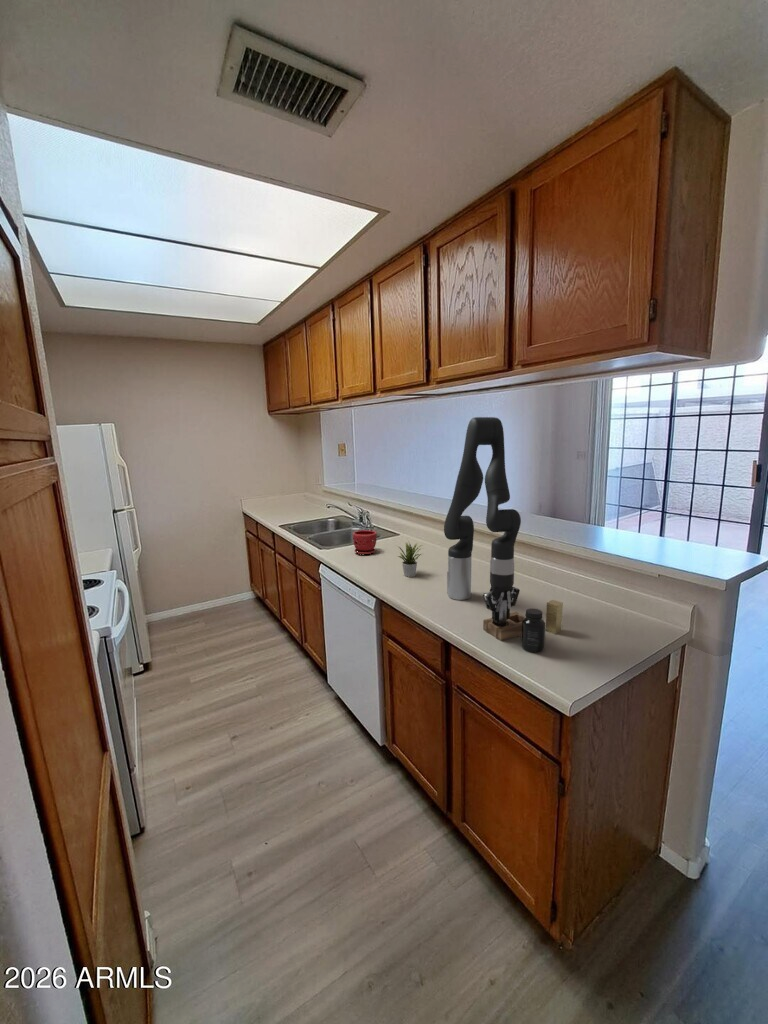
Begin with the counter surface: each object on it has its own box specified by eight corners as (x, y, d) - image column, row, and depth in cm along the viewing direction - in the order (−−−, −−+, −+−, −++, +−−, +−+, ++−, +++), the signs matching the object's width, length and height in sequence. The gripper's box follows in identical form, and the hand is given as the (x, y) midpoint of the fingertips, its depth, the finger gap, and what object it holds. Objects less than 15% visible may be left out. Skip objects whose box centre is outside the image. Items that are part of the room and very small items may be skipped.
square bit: (545, 630, 143) (546, 602, 141) (551, 627, 145) (552, 599, 143) (555, 634, 140) (557, 605, 138) (561, 630, 143) (562, 602, 141)
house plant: (433, 576, 199) (433, 542, 196) (411, 583, 190) (410, 547, 187) (413, 568, 210) (413, 536, 207) (391, 575, 202) (390, 541, 199)
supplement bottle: (549, 648, 131) (551, 612, 129) (535, 655, 128) (537, 618, 125) (530, 640, 137) (531, 605, 135) (516, 646, 133) (517, 610, 131)
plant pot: (377, 556, 233) (376, 534, 231) (353, 556, 233) (352, 535, 231) (377, 549, 246) (376, 529, 244) (354, 550, 246) (353, 529, 243)
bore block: (482, 629, 145) (482, 620, 144) (515, 621, 151) (515, 611, 150) (500, 641, 137) (500, 631, 136) (534, 631, 143) (534, 621, 142)
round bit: (492, 626, 143) (493, 598, 141) (501, 624, 144) (502, 596, 142) (500, 630, 140) (500, 602, 138) (508, 628, 141) (509, 599, 139)
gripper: (511, 563, 144) (509, 611, 148) (477, 570, 139) (476, 620, 142) (527, 570, 138) (525, 620, 141) (491, 577, 132) (490, 629, 135)
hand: (500, 619), depth 141 cm, fingers closed on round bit, 3 cm apart
